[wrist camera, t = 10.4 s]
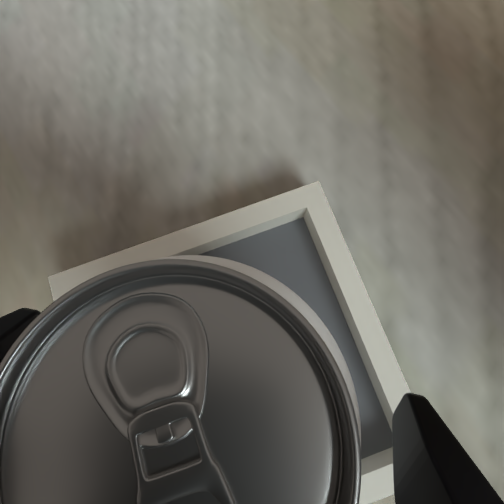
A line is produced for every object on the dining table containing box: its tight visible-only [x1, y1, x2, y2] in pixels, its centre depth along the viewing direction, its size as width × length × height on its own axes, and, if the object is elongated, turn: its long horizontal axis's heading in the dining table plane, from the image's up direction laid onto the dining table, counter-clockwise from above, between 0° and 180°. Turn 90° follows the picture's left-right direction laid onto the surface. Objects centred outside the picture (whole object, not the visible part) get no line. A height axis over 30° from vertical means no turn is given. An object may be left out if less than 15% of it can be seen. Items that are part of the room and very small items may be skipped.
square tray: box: [48, 181, 411, 504], centre depth 17 cm, size 13×13×2 cm
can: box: [0, 255, 361, 504], centre depth 11 cm, size 6×6×12 cm
